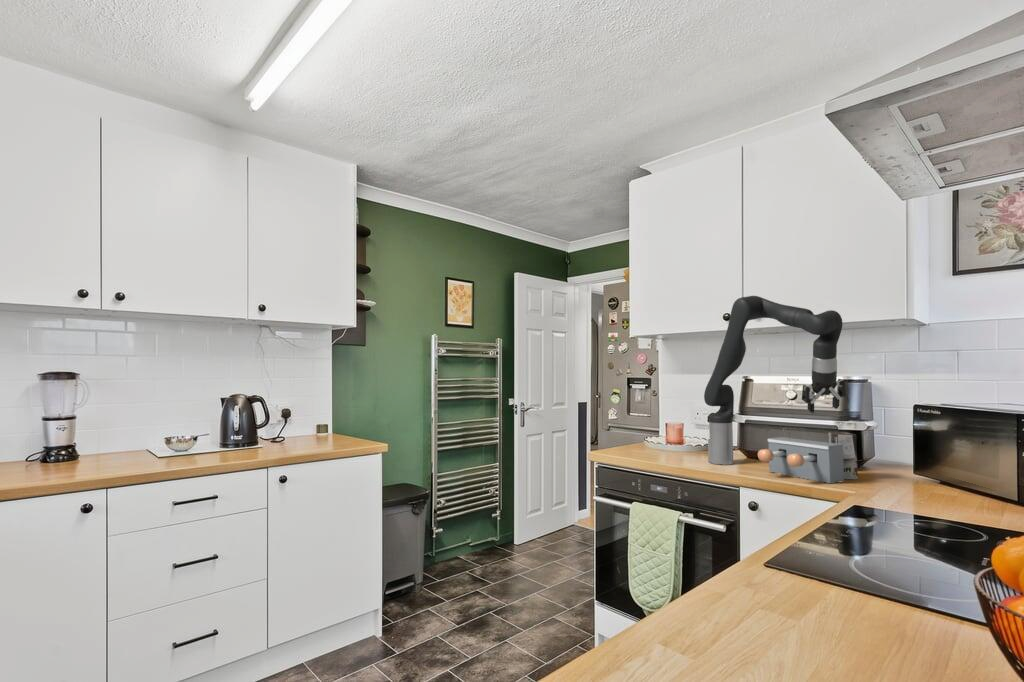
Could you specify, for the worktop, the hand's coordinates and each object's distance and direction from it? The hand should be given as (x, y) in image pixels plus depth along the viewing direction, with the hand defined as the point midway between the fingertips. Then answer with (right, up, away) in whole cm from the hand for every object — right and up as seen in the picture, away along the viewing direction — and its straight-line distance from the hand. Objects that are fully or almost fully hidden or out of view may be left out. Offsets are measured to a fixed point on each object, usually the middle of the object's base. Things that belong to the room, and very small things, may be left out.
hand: (823, 409), depth 192 cm
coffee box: (+12, -26, +8) cm, 29 cm away
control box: (-2, -26, +8) cm, 27 cm away
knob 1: (-13, -20, +10) cm, 26 cm away
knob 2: (-7, -20, -1) cm, 21 cm away
